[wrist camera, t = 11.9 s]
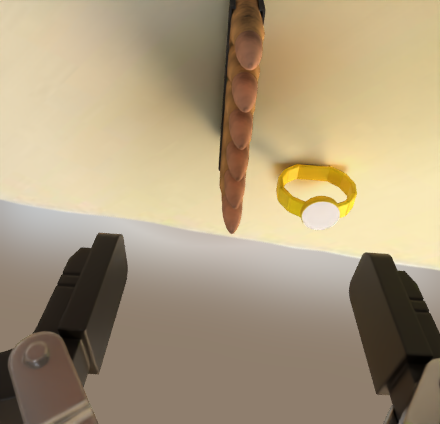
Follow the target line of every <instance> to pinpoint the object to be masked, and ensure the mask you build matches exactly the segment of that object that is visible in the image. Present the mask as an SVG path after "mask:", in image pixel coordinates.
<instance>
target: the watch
mask: <svg viewBox="0 0 440 424" xmlns="http://www.w3.org/2000/svg"><path fill="white" fill-rule="evenodd" d="M295 179H306V180H319V181H328V182H330V183H332V184H334V185H335V186H337V187H339V188H340V189H341V190H342V191H343V192H344V193H345V194H346V195H347V199H346V201H343V202H340V203H337V202H336V201H335V200H334V199H332V198H330V197H326V196H316V197H313V198H310V199H309V200H307V201H306V202H305V201H302V200H300V199H298V198H295V197H293V196H292V195H291V194H290V193H289V192H288V191H287V190H286V189H285V188H284V186H285V184H286V183H288V182H290V181H292V180H295ZM276 192H277V199H278V201H279V203H280V204H281V205H282V206H283V207H284V208H285V209H286V210H287V211H289V212H290V213H292V214H294V215H297V216H299V217H301V220H302V222H303V223H304V224H305V225H306V226H307V227H308V228H311V229H314V230H324V229H327V228H330V227H332V226H333V225H334V224H335V223H337V221H338V219H339V218H341V217H344V216H346V215H347V214H348V212H349V211H350V210H351V209H352V207H353V204H354V201H355V198H356V195H357V191H356V185H355V183H354V182H353V181H352V180H351V179H350V177H349V176H348V175H347V174H345V173H344V172H342V171H340V170H338V169H336V168H334V167H332V166H331V167H330V166H328V167H327V166H314V165H300V164H296V165H293V166H291V167H288V168H286V169H285V170H283V172H282V173H281V174H280V176H279V177H278V182H277V190H276Z"/></svg>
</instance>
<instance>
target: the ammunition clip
mask: <svg viewBox="0 0 440 424" xmlns="http://www.w3.org/2000/svg"><path fill="white" fill-rule="evenodd" d="M264 17H265V5H264V1H263V0H230V6H229V21H228V35H227V50H226V64H225V79H224V93H223V108H222V122H221V137H220V154H219V171H220V189H221V193H222V212H223V218H224V222H225V225H226V228H227V230H228V231H229V232H230V233H231V234H233V233H234V232H235V231H236V230H237V228H238V226H239V223H240V219H241V214H242V202H243V195H244V190H245V178H246V170H247V166H248V159H249V143H250V141H251V135H252V128H253V113H254V111H255V101H256V97H257V84H258V78H259V73H260V68H259V62H260V60H261V58H262V51H263V47H262V45H263V40H264V34H265V32H264V27H263V25H264Z"/></svg>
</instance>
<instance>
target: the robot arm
mask: <svg viewBox="0 0 440 424" xmlns="http://www.w3.org/2000/svg"><path fill="white" fill-rule="evenodd" d="M127 271H128V267H127V259H126V252H125V245H124V239H123V235H121V234H109V233H98V235H97V236H96V238H95V241H94V243H93V245H92V248H80V249H79V250H78V251H77V252H76V253H75V254H74V255H73V256H72V257H70V259H69V260H68V262H67V264H66V266H65V269H64V271H63V275H61V277H60V279H59V281H58V285H57V286H56V288H55V290H54V292H53V294H52V296H51V298H50V300H49V302H48V304H47V307H46V309H45V311H44V313H43V315H42V317H41V319H40V321H39V323H38V326H37V327H36V329H35V331H34V332H33V333H32V334H31V335H29V336H27V337H26V338H24V339H22V340H21V341H20V342H19V343H18V344H17V345H16V346H15V347H14V348H13V349H11V350H8V351H5V352H1V353H0V424H98V421H97V419H96V417H95V414H94V412H93V409H92V407H91V405H90V403H89V401H88V398H87V396H86V393H85V391H84V388H83V387H84V384H85V381H86V378H87V374H99V371H100V368H101V365H102V362H103V358H104V355H105V351H106V348H107V345H108V341H109V338H110V334H111V331H112V328H113V324H114V321H115V318H116V314H117V311H118V307H119V304H120V301H121V297H122V294H123V291H124V287H125V284H126V280H127ZM349 296H350V301H351V304H352V308H353V312H354V315H355V319H356V323H357V326H358V329H359V333H360V337H361V341H362V344H363V348H364V351H365V354H366V358H367V362H368V366H369V369H370V373H371V376H372V380H373V384H374V387H375V391H376V394H378V395H390V397H391V400H392V404H393V405H392V406H391V408H390V410H389V412H388V414H387V416H386V418H385V421H384V423H383V424H440V333H439V331H438V329H437V327H436V324H435V322H434V320H433V318H432V316H431V314H430V313H429V309H428V307H427V305H426V303H425V301H423V299H424V298H423V297H422V294H421V292H420V290H419V288H418V286H417V284H416V283H415V282H414V281H413V280H412V278H411V277H410V276H409V275H408V274H407V273H406V272H405V271H397V269H396V266H395V264H394V261H393V259H392V257H391V256H390V255H389V254H379V253H364V254H363V255H362V257H361V260H360V262H359V264H358V266H357V269H356V271H355V273H354V275H353V277H352V280H351V282H350V287H349Z"/></svg>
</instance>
